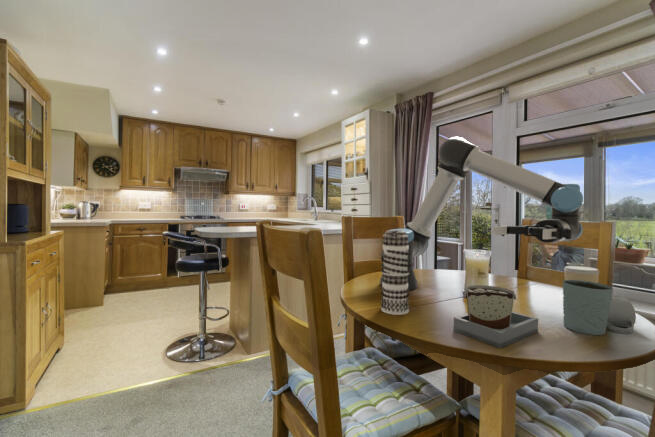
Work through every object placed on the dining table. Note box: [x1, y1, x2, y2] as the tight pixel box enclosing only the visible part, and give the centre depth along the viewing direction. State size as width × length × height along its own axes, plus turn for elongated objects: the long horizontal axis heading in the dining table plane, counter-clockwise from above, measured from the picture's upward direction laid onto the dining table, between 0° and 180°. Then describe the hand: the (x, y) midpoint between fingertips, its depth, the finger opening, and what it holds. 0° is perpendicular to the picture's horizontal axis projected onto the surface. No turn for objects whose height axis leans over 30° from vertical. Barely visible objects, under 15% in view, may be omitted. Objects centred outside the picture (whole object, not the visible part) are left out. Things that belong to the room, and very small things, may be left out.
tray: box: [453, 311, 539, 349], centre depth 79 cm, size 12×18×4 cm, turn 123°
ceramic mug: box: [606, 297, 637, 334], centre depth 83 cm, size 11×8×8 cm
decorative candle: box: [380, 229, 411, 316], centre depth 96 cm, size 9×9×25 cm
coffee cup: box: [563, 265, 600, 283], centre depth 104 cm, size 9×9×12 cm
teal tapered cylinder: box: [562, 279, 614, 336], centre depth 81 cm, size 10×10×12 cm
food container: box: [463, 284, 517, 330], centre depth 81 cm, size 12×6×10 cm, turn 82°
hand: (517, 232), depth 89 cm, fingers open, 13 cm apart
